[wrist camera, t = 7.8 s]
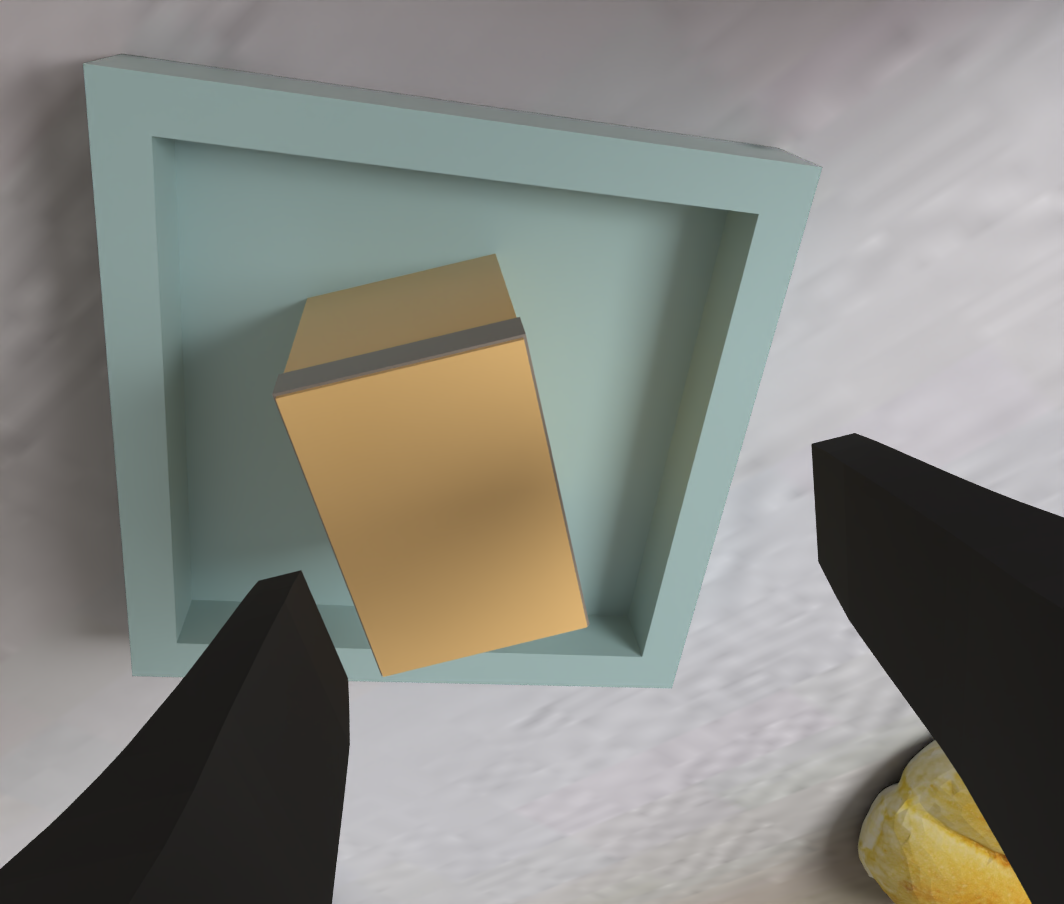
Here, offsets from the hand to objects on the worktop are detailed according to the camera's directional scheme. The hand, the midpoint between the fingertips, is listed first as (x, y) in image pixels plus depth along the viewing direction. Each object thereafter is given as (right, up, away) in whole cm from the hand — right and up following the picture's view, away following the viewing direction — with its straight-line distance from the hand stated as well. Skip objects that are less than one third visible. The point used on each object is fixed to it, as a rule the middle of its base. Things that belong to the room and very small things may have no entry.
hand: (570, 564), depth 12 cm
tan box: (-3, +3, +7) cm, 8 cm away
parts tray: (-3, +3, +8) cm, 9 cm away
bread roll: (+15, -10, +18) cm, 25 cm away
